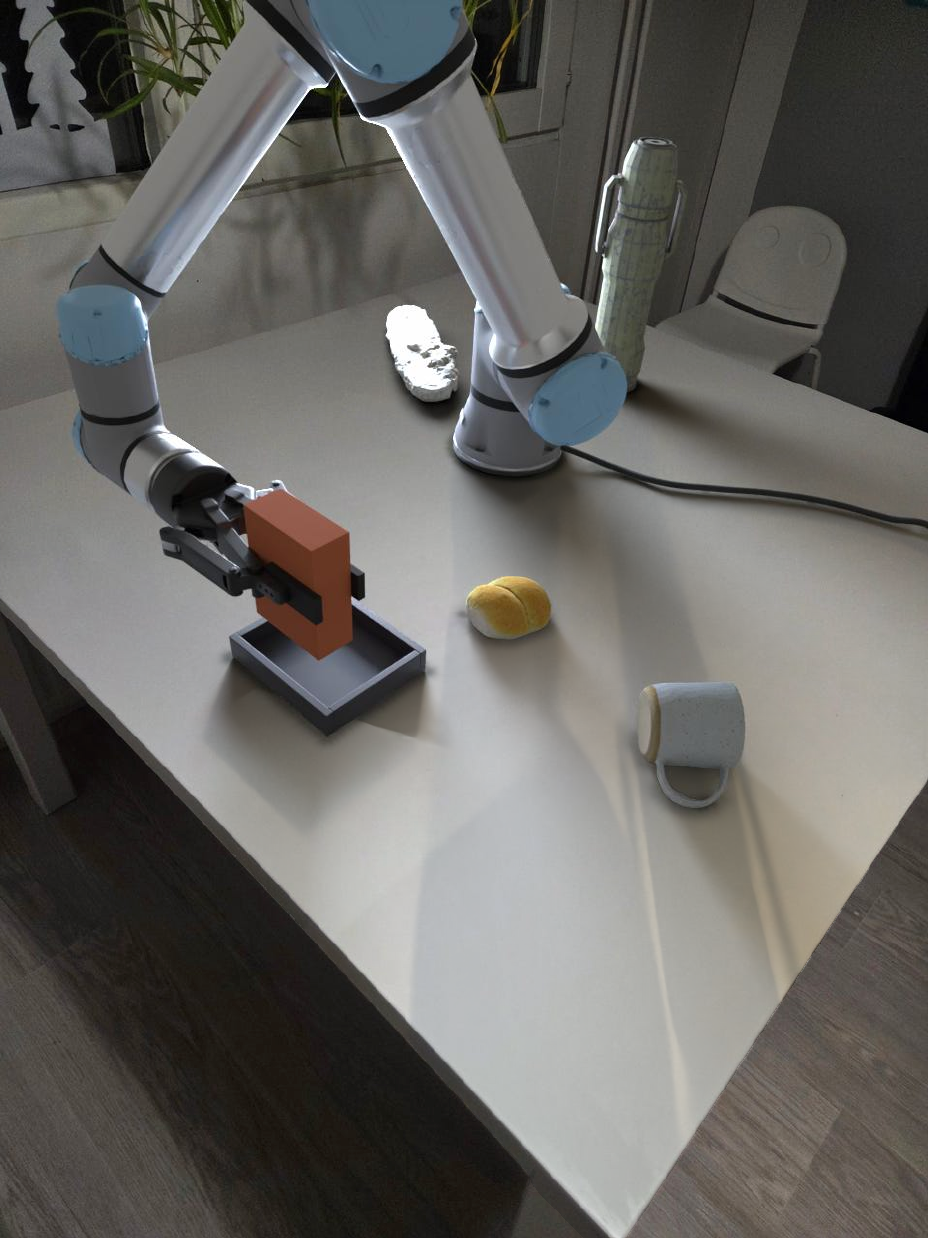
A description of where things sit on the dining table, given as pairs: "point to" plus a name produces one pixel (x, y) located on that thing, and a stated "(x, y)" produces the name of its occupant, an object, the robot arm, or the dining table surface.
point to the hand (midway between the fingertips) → (340, 598)
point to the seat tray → (331, 668)
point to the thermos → (636, 247)
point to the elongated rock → (421, 354)
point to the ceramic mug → (691, 730)
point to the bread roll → (508, 607)
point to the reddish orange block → (303, 568)
